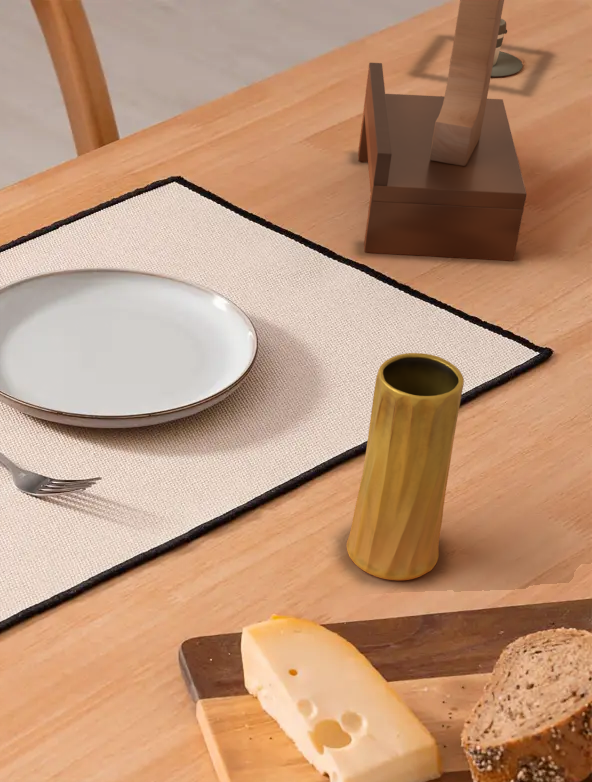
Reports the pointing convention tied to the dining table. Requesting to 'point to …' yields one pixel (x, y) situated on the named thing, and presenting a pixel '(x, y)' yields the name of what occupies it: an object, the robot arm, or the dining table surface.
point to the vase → (406, 467)
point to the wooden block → (467, 81)
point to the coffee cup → (504, 57)
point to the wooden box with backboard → (437, 181)
